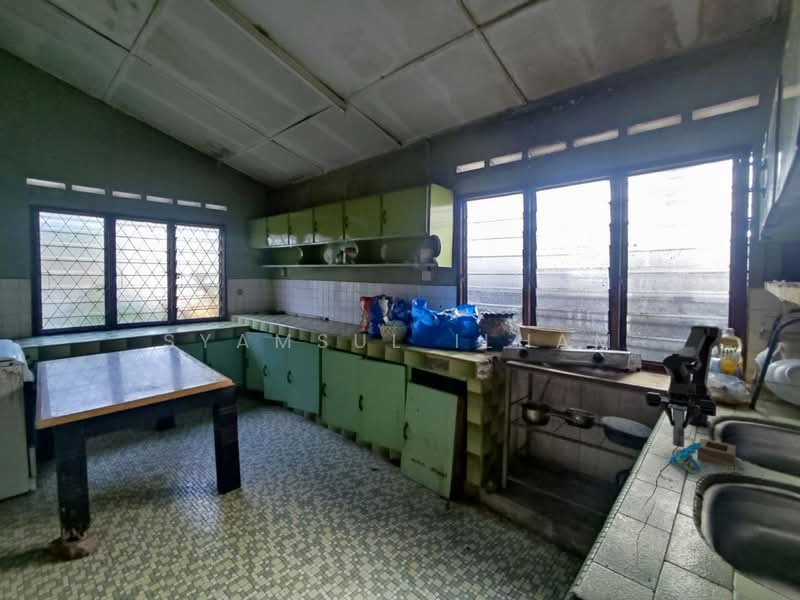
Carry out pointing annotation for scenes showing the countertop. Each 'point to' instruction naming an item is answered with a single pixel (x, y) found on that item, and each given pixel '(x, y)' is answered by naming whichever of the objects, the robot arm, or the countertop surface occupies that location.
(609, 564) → the countertop surface
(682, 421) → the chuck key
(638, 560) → the countertop surface
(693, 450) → the blue lumpy figure
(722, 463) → the key holder
